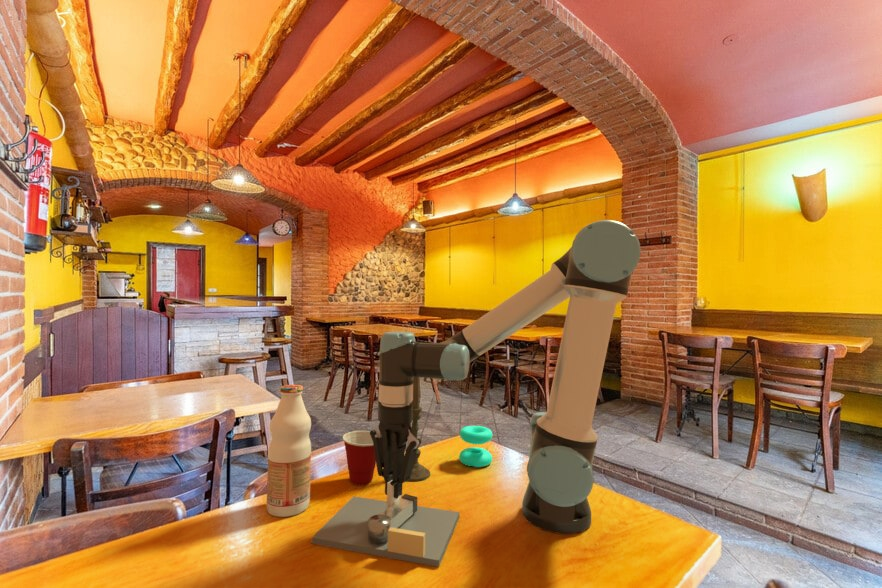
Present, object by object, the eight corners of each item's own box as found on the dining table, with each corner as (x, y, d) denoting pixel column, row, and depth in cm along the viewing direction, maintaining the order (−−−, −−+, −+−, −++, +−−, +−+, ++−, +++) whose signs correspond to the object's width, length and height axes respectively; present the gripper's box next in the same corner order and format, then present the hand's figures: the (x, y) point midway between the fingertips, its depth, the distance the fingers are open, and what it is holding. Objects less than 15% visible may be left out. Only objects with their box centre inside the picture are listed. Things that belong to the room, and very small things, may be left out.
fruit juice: (261, 519, 89) (265, 390, 90) (271, 499, 98) (274, 382, 99) (306, 516, 91) (310, 390, 92) (312, 496, 100) (315, 382, 101)
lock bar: (382, 545, 77) (382, 528, 77) (363, 539, 79) (363, 522, 79) (419, 511, 90) (419, 496, 90) (402, 506, 92) (402, 492, 92)
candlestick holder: (394, 469, 117) (397, 365, 118) (425, 466, 120) (427, 364, 121) (401, 483, 108) (403, 370, 109) (434, 479, 111) (436, 369, 112)
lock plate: (459, 517, 91) (459, 495, 92) (438, 567, 74) (439, 539, 74) (353, 501, 98) (354, 480, 98) (311, 543, 81) (312, 517, 81)
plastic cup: (373, 492, 103) (374, 444, 103) (334, 487, 105) (335, 440, 106) (387, 474, 114) (388, 431, 114) (351, 470, 116) (352, 428, 116)
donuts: (484, 423, 131) (498, 432, 121) (483, 454, 130) (497, 466, 121) (454, 425, 127) (467, 435, 118) (454, 458, 127) (466, 470, 118)
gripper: (429, 404, 89) (427, 512, 89) (385, 395, 96) (382, 495, 96) (408, 411, 83) (405, 528, 82) (362, 401, 90) (359, 509, 89)
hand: (392, 510), depth 89 cm, fingers closed
